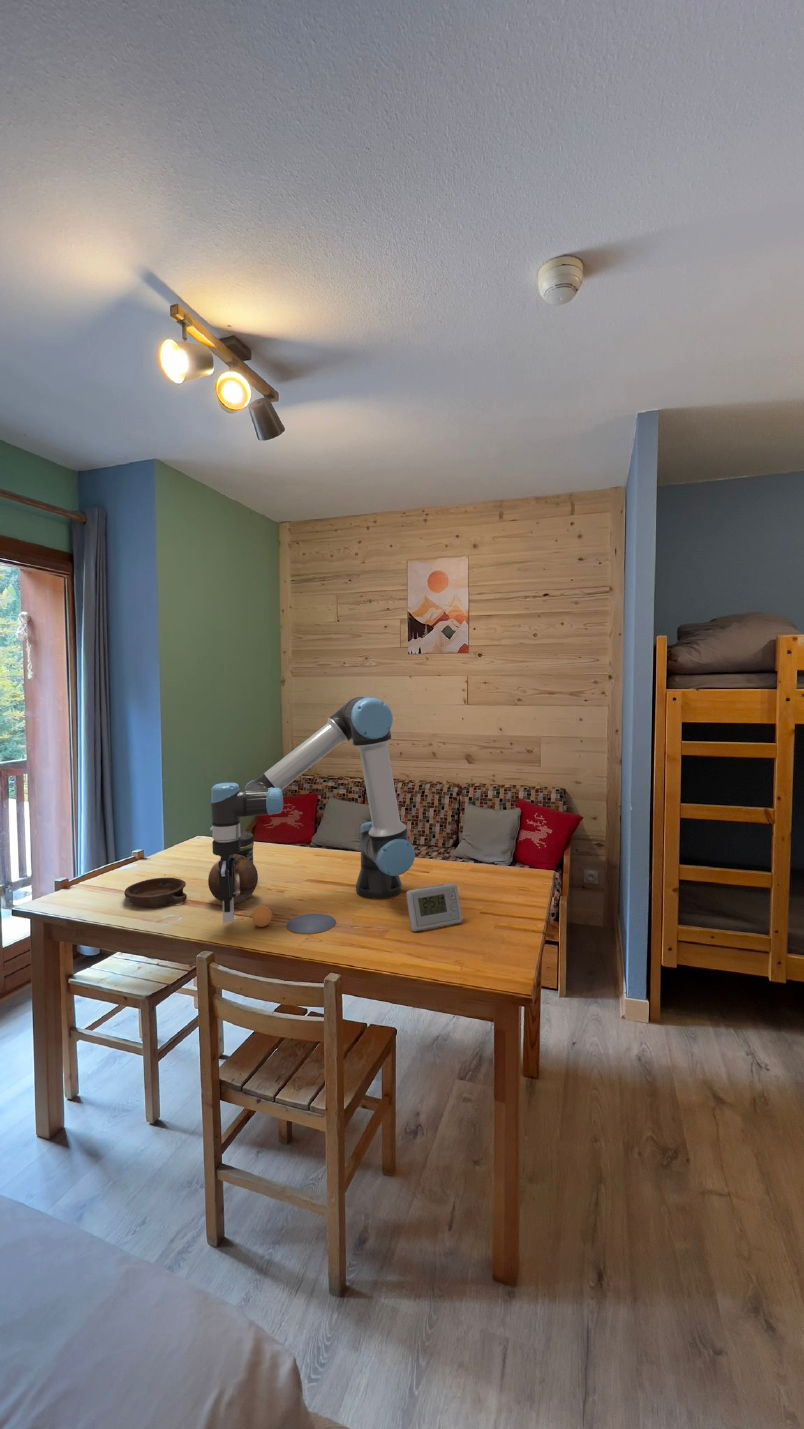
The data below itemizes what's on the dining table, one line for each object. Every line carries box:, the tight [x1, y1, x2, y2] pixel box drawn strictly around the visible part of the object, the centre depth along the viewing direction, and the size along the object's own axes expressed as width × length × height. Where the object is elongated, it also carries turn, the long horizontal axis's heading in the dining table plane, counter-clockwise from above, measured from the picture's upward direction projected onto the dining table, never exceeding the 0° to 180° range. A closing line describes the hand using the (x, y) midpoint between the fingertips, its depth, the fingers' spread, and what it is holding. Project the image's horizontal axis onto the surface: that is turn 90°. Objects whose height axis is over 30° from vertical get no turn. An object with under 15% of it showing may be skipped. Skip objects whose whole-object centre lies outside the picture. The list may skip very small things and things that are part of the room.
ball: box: [251, 905, 273, 928], centre depth 168 cm, size 6×6×6 cm
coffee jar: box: [236, 830, 255, 864], centre depth 200 cm, size 10×8×19 cm
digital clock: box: [405, 883, 463, 932], centre depth 168 cm, size 16×9×11 cm, turn 102°
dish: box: [124, 877, 188, 908], centre depth 189 cm, size 18×22×5 cm
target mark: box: [285, 913, 337, 935], centre depth 170 cm, size 14×14×1 cm
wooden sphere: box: [207, 854, 259, 905], centre depth 187 cm, size 15×15×15 cm
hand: (228, 921), depth 167 cm, fingers closed
